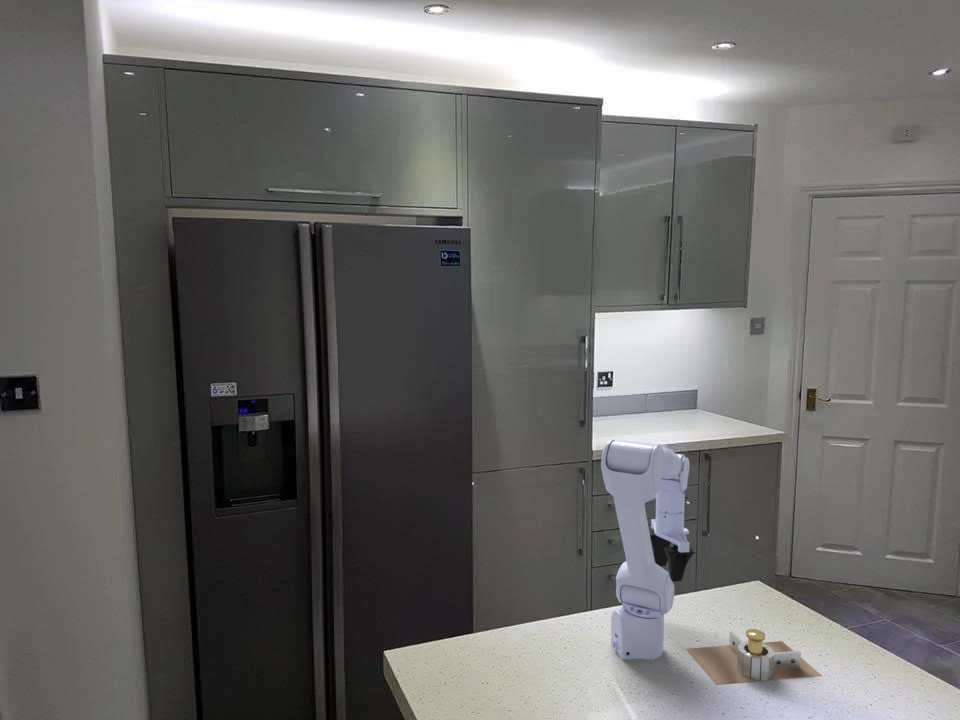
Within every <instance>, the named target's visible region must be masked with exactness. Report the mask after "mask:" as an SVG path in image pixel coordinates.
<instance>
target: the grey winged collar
mask: <svg viewBox="0 0 960 720" xmlns="http://www.w3.org/2000/svg"><path fill="white" fill-rule="evenodd" d="M728 641H729V642H728V645H729V647H730V648H731V649H732V650H733V651H734V652H735V653H736V654H737V655H738V663H737V670H738V671H739V672H740V673H741V674H743V676H746V677H748V678H751V679H754V680H759V681H758V682H765V681H764V680H767V681H771V680H770V679H771V678H773V677H774V670H785V669H796V668H800V662H801V658H802V657H801V656H802V652H801V651H800V650H793V651H789V652H776V653H774V650H773V649H771V648H770V647H768V646H767V645H765V644H763V648H762V656H757V655H752V654H750V653H748V640H746V641H745V640H742V639H741V638H740V637H739V636H738V635H737V634H736V633H735V632H734V631H733V630H731V631H729V640H728ZM760 680H761V681H760Z"/></svg>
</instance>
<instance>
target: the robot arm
mask: <svg viewBox="0 0 960 720" xmlns="http://www.w3.org/2000/svg"><path fill="white" fill-rule="evenodd" d="M674 451H675V450H673V449H672V448H671V449H670V448H669V446H668V445H667V444H661V443H659V444H655V443H647V442H646V443H645V442H639V441H638V442H636V441H626V440H615V439H609V440H608V441H607V443H604V446H603V448H602V452H601V461H600V462H601V463H600V470H601V473H602V478H603V483H604V487H605V491H607V492H608V493H609V494H610V495H611V496H612V497H613V502H614V507H615V508H614V509H615V513H616V518H617V523H618V527H619V532H620V536H621V540H622V547H623V551H624V556H625V561H624V562H623V563H622V564H621V565H620V567H619V568H618V570H617V572H616V576H615V584H616V586H615V587H616V588H615V595H616V598H617V600H618V602H619V603H620V604H621V605H622V607H621V608H619V609H615V610H613V611H612V613H611V629H610V633H611V634H610V636H611V637H610V638H611V639H610V644H611V647H612V648H613V649H614V650H615V652H616V654H617V655H618V656H619V658H620V660H623V661H626V660H637V659H638V660H656V659H659V658H660V657H661V656H662V655H664V641H665V639H664V637H665V635H664V634H665V632H664V631H665V615H666V614H669V613H670V611H671V610H672V608H673V605H674V600H675V585H674V582H682V580H683V577H684V573H685V570H686V567H687V565H688V563H689V561H690V559H691V558H692V556H693V555H694V549H693V548H691V547H690V542H689V541H688V539H687V536H686V535H689V534H690V531H689V529H688V528H686V527H684V526H685V502H686V501H685V497H686V496H685V495H686V490H687V489H688V478H689V474H690V459H689V457H686V456H685V454H681V453H675V452H674ZM654 499H655V518H653V519H650V523H651V524H650V528H649V523H648V517H647V512H646V511H647V510H646V506H645V504H646V503H648V502H650V501H651V500H654ZM650 529H652V531H651V530H650ZM671 544H673V546H671ZM667 564H668V570H666V569H665V568H663V567H666V566H667ZM627 653H628V654H627Z"/></svg>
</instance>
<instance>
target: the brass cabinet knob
mask: <svg viewBox="0 0 960 720" xmlns="http://www.w3.org/2000/svg"><path fill="white" fill-rule="evenodd" d="M745 636H746V638H747V641H748V653H750V654H752V655H757V656H762V648H763V643H764V640H765V639H766V633H765V632H764V631H762V630H759V629H756V628H750V629H746V631H745Z"/></svg>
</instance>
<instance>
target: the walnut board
mask: <svg viewBox="0 0 960 720" xmlns="http://www.w3.org/2000/svg"><path fill="white" fill-rule="evenodd" d="M763 644H765V645H767V646H768V647H770V648H771V649H773V650H774V653H776V652H789V651H794V650H793V649H792V648H791V647H790V646H789V645H787V643H785V642H784V641H783V640H779V641H768V642H767V641H765V642H764V641H763ZM685 650H686V651H687V652H688V654H689V655H690V657H692V658H693V659H694V661H695V662H696V663H697V665H699V666H700V667H701V669H702V670H703V671H704V673H706V675H708V677H709V678H710V680H712V682H713V683H714V684H715V685H716V686H719V685H729V684H731V685H732V684H742V683H752V682H753V683H755V682H762V681H761V680H760V681H759V680H754V679H751V678H748V677H746V676H743V674H741V673H740V672H739V671H738V670H737V663H738V655H737V654H736V653H735V652H734V651H733V650H732V649H731V648H730V647H729V644H728V645H716V646H701V647H690V648H685ZM821 676H822V674H821V673H820V672H818V670H816V669H815V668H814V667H813V666H811V664H810V663H808V662H807V661H806V660H805V659H803V657H801V662H800V668H796V669H785V670H774V677H773V678H771V679H770V680H769V681H775V680H778V681H779V680H786V679H787V680H789V679H799V678H801V679H802V678H811V677H821ZM766 681H767V682H768V680H764V681H763V682H766Z"/></svg>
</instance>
